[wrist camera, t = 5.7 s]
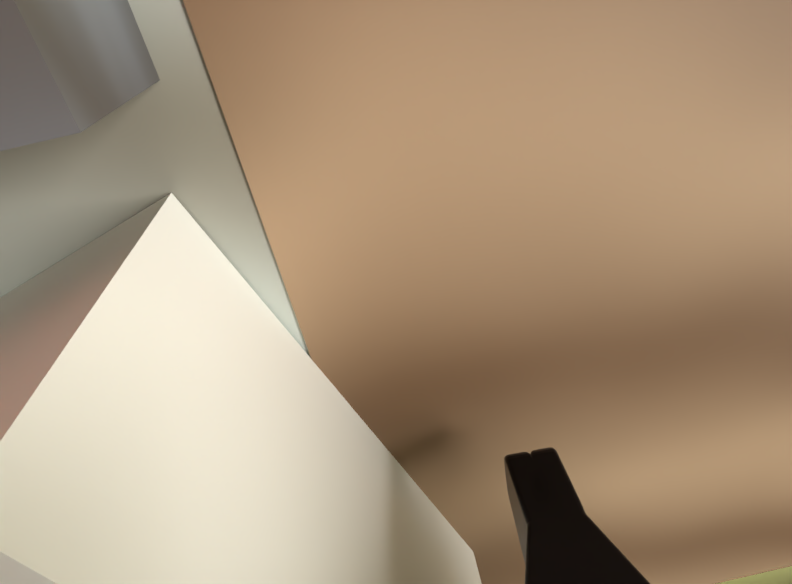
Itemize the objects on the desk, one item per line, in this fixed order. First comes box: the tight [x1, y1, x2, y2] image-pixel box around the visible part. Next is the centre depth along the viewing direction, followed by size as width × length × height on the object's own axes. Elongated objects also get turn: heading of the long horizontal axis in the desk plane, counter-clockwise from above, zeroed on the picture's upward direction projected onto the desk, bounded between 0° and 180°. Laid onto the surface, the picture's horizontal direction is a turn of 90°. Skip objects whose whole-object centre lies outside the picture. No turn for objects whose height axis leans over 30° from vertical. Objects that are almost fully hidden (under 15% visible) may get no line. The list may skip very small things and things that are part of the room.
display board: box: [0, 0, 792, 584], centre depth 9 cm, size 16×22×5 cm
